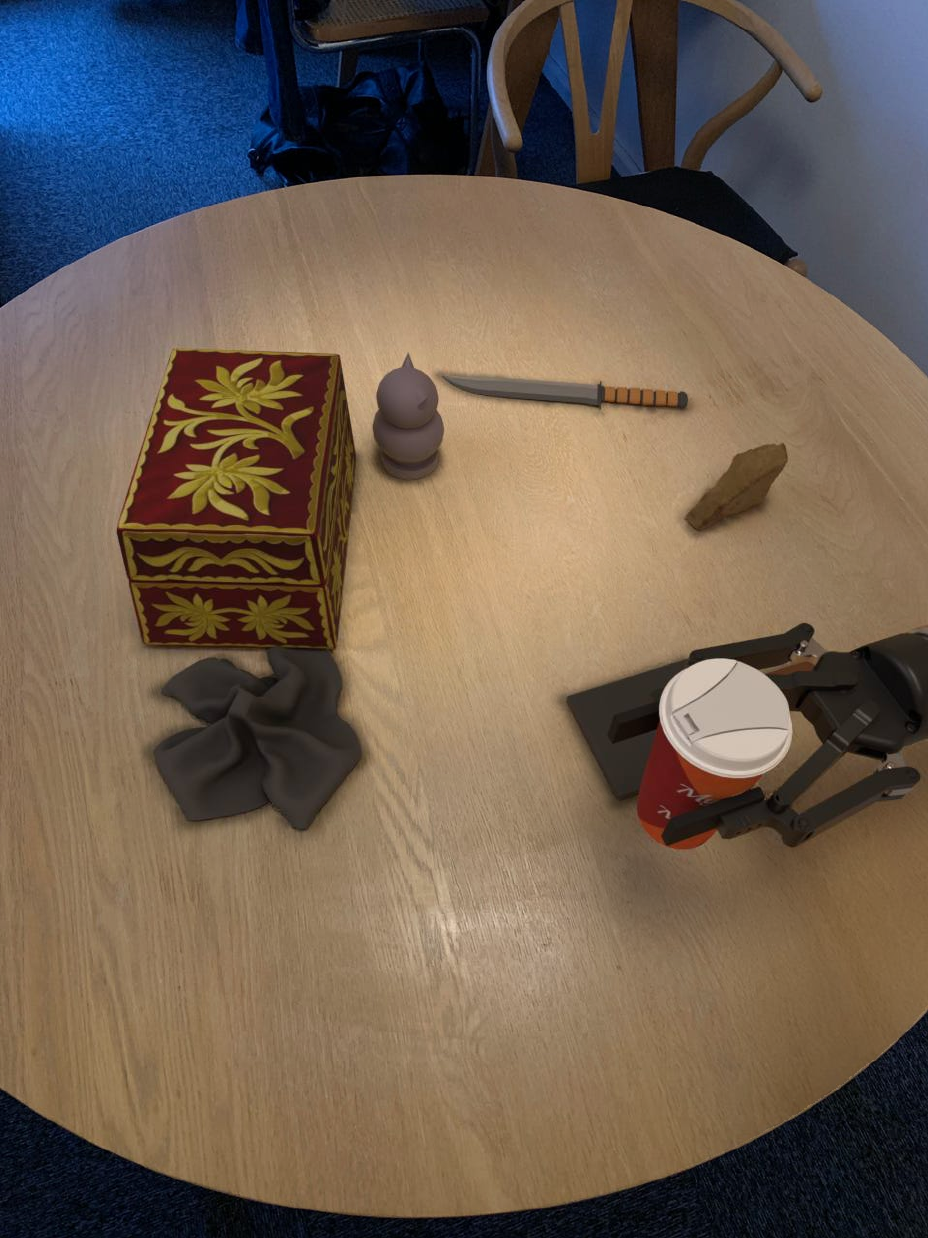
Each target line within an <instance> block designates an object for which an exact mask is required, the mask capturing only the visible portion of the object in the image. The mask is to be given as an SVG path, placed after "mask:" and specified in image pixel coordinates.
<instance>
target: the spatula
mask: <svg viewBox="0 0 928 1238" xmlns="http://www.w3.org/2000/svg"><path fill="white" fill-rule="evenodd" d="M687 660H688V658H686V659H681V660H679V661H676V662H673V663H670V664H666V665H663V666H660V667H657V668H656V667H655V668H653V669H650V670H646V671H644V672H640V673H638V674H637V673H636V674H634V675H631V676H628V677H625V678H621V679H618V680H615V681H612V682H608V683H606V684H602V685H599V686H596V687H593V688H589V689H586V690H583V691H580V692H577V693H574V694H570V695H567V696H566V703H567V705H568V707H569V709H570V711H571V713H572V715H573V716H574V719H575V721H576V722H577V725H578V727H579V728H580V730H581V732H582V734H583V736H584V739H586V742H587V743H588V745H589V747H590V749H591V751H592V753H593V755H594V758H595V759H596V760H597V761H596V762H597V763H598V765H599V767H600V768H601V770H602V772H603V774H604V776H605V778H606V780H607V782H608V784H609V786H610V788H611V790H612V791H613V794H614V795H615V797H616V800H617V801H621V800H624V799H626V798H630V797H632V796H635V795H638V794H639V790H640V786H641V782H642V779H643V775H644V772H645V768H646V765H647V761H648V758H649V755H650V751H651V748H652V744H653V741H654V738H655V734H656V731H657V730H654V731H651V732H648V733H645V734H641V735H638V736H635V737H632V738H629V739H626V740H623V741H620V742H617V743H614V744H612V743H611V741H610V739H609V738H608V736H607V734H608V731H609V728H610V725H611V722H612V719H613V716H614V715H616V714H619V713H622V712H625V711H628V710H631V709H634V708H638V707H641V706H644V705H646V704H647V701H648V699H649V696H650V694H651V693H652V692H653V691H655V690H657V689H660V688H663V687H666V686H667V684H668V683H669V681H670V680H671V679H672V678H673V677H674V676H675V675H677V674H678V673H680V672H681V671H683V670H684V668H685V665H686V663H687ZM813 668H814V665H813V664H812V663H810V662H802V663H798V664H796V665H793V664H791V665H788V666H785V667H782V668H778V669H776V670H773V671H770V672H767V673H766V674H782V675H788V674H791V673H793V672H796V671H812V670H813Z"/></svg>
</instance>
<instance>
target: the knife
mask: <svg viewBox="0 0 928 1238" xmlns="http://www.w3.org/2000/svg"><path fill="white" fill-rule="evenodd" d="M441 376H442V377H443V378H444V379H445V380H446V381H447V382H449V383H450V384H452V386H454V387H456V388H458V389H461V390H462V391H465V392H468V393H472V394H477V395H483V396H489V397H490V396H492V397H498V398H499V397H500V398H511V399H525V400H526V399H527V400H536V401H537V400H538V401H551V402H562V403H563V402H564V403H577V404H587V405H591V406H598V408H599V410H601V409H602V402H611V403H615V402H616V403H618V404H619V403H620V404H627V403H628V404H631V405H640V404H641V405H642V406H653V405H654V406H660V407H661V406H662V407H665V406H667V407H679V408H681V409H685V408H686V407H688V404H689V396H688V393H686V391H684V390H683V391H682V390H681V391H679V392H678V391H672V390H671V391H670V390H667V391H666V390H661V389H655V390H654V389H652V388H651V389H650V388H642V389H641V388H639V387H637V388H636V387H629V388H628V387H624V386H623V387H622V386H617V387H616V386H605V385H603V384H602V380H600V381H599V384H589V383H578V382H567V381H566V382H564V381H552V380H538V379H525V378H513V377H512V378H511V377H474V376H461V375H459V376H458V375H446V374H445V375H444V374H442V375H441Z"/></svg>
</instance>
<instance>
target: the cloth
mask: <svg viewBox="0 0 928 1238" xmlns="http://www.w3.org/2000/svg"><path fill="white" fill-rule="evenodd" d="M265 649H266V654H267V655H266V656H267V661H268V665H269V666H270V668H271V670H272V672H273V676H270V675H267V676H263V677H258V676H256V675H255V674H253V673H251V672H250V671H247V670H244V669H241V668H239V667H237V666H236V665H235V664H234V662H232V661H231V660H229V659H228V658H224V657H223V658H220V659H219V658H217V657H215V656H214V657H213V656H212V657H211V656H210V657H206V658H202V659H199V660H197V661H196V662H194V663H193V664H191V665H189V666H187V667H186V668H184V669H183V670H181V671H179V672H177V673H176V674H174V675H172V677H170V679H168V681H167V682H166V684H164V686H163V687H161V690H160V693H161V694H162V695H163V696H165V697H173V698H175V699H177V700H178V701H179V702H180V703H181V705H183V706H184V708H185V709H186V710H187V711H188V712H189V713H190V714H191V715H192V716H193V717H194V718H196V719H199V720H201V721H204V722H207V723H209V724H210V725H207V726H206V727H205V726H203V727H191V728H187V729H184V730H181V731H178V732H177V733H174V734H172V735H170V736H168V737H166V738H165V739H164V740H162V741H160V742H159V743H158V744H157V746H155V748H154V749H153V755H154V762H155V765H156V767H157V769H158V772H159V774H160V776H161V777H162V779H163V781H164V782H165V784H166V786H167V788H168V790H169V792H170V794H171V796H172V797H173V798H174V800H175V801H176V802H177V803H178V805H179V807H180V809H181V811H182V812H183V813H184V817H185V819H186V820H187V821H205V820H211V819H212V820H213V819H220V818H227V817H231V816H237V815H240V814H245V813H248V812H251V811H254V810H256V809H260V808H262V807H264V806H266V805H267V804H268V803H271V804H272V805H273V806H274V807H276V808H277V809H278V810H279V811H281V812H282V813H283V814H284V815H285V817H286V819H287V820H288V822H289V825H290V827H293V828H294V829H298V830H306V829H308V828H309V826H310V824H311V823H313V820H314V819H315V818H316V816H317V815H318V814H319V812H320V811H321V809H322V808H323V807H324V805H325V804H327V802H328V800H329V799H330V797H331V796H332V795H333V794H334V793H335V791H336V790H337V788H338V787H339V786H340V785H341V783H342V782H343V780H344V779H345V778H346V777H347V776H348V774H349V773H350V772H351V771H352V769H353V768H354V767H355V766H356V765H357V764H358V762H359V761H360V759H361V758H362V753H363V751H362V748H361V744H360V740H359V738H358V735H357V734H356V731H355V730H354V729H353V727H352V726H351V724H350V723H348V721H345V720H344V719H343V718H342V717H341V716H340V715H339V713H338V705H339V699H340V695H341V693H342V689H343V679H342V675H341V671H340V669H339V666H338V664H337V662H336V661H335V659H334V657H333V655H332V653H331V652H330V651H329V649H300V648H282V647H272V648H265Z"/></svg>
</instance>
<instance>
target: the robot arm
mask: <svg viewBox="0 0 928 1238" xmlns="http://www.w3.org/2000/svg"><path fill="white" fill-rule="evenodd" d="M814 635H815V628H814V626H812V625H811V624H810V623H808V622H800V623H799V624H798V625H795V626H794V627H792V628H790V629H789V630H788V631H785V632H784V633H779V634H773V635H768V636H763V637H757V638H753V639H746V640H741V641H736V642H730V643H725V644H719V645H714V646H708V647H704V648H703V647H702V648H697V649H693V650H691V652H690V653H689V656H688V658H687V659H688V660H687V663H686V665H685V668H684V670H685V669H687V668H689V667H690V666H692V665H694V664H696V663H698V662H701V661H705V660H710V659H731V660H736V661H737V662H738V661H739V662H742V663H744V664H746V665H749V666H751V667H753V668H755V669H757V670H759V671H760V670H766V669H770V668H775V667H779V666H782V665H785V664H788V663H789V662H790V664H791V665H796V664H798V663H802V662H810V663H812V664H813V665H814V668H813V670H812V671H796V672H793V673H791V674H788V675H782V674H767V673H764V674H765V675H766V676H767V677H768V678H769V679H770V680H771V681H772V682H773V683H775V684H776V686H777V687H778V688H779V689H780V690H781V692H782V693H783V694H784V696H785V698H786V700H787V702H788V706H789V712H800V713H801V715H802V716H803V717H804V719H806V721H808V722H809V723H810V724H811V725H812V726H813V729H814V732H815V734H816V737H817V738H818V740H819V741H820V743H821V745H820V746H819V747H818V748H817V749H816V750H815V751H814V752H813V753H812V754H811V755H810V756H809V757H808V758H807V759H806V760H805V761H804V762H803V763H802V764H801V765H800V766H799V767H798V768H797V769H796V770H795V771H794V772H793V773H792V774H791V775H790V776H789V777H788V778H787V779H786V780H785V781H784V782H783V783H782V784H781V785H780V786H779V787H778V788H777V789H774V790H773V792H772V793H771V795H770V797H768V798H766V797H767V796H766V794H765V792H764V791H763V789H762V787H761V786H756V787H754V788H753V787H752V789H751V790H748V791H745V792H743V793H741V794H739V795H736V796H732V797H728V798H725V799H723V800H720V801H717V802H714V803H712V804H709V805H706V806H703V807H700V808H698V809H695V810H692V811H689V812H686V813H684V814H681V815H678V816H675V817H672V818H670V819H669V821H668V823H667V825H666V827H665V829H664V831H663V833H662V835H661V837H662V839H663V841H664V843H665V845H666V846H669V845H672V844H675V843H677V842H680V841H683V840H686V839H688V838H691V837H694V836H696V835H699V834H702V833H705V832H707V831H710V830H713V829H717V831H716V832H717V833H718V834H719V836H720V838H721V839H722V840H732V839H734V838H738V837H740V836H742V835H743V836H744V835H746V834H749V833H751V832H753V831H756V830H757V831H758V830H760V829H762V828H769V829H772V830H774V831H775V832H776V833H777V834H778V835H780V836H781V841H782V843H783V844H784V845H785V846H786V847H789V848H792V849H793V848H797V847H799V846H801V845H804V844H805V843H806V842H808V841H810V840H812V839H814V838H815V837H817V836H819V835H821V834H823V833H824V832H826V831H828V830H830V829H831V828H833V827H835V826H836V825H838V824H841V823H842V822H843V821H844V822H845V820H848V819H849V818H851V817H852V816H854V815H856V814H858V813H860V812H861V811H863V810H865V809H867V808H869V807H870V806H872V805H874V804H876V803H881V802H889V801H899V800H902V799H904V798H905V797H906V795H908V793H909V792H910V791H912V790H913V789H914V788H915V786H916V785H917V784H918V783H919V782H920V781H921V773H920V772H919V770H918V769H916V767H913V766H908V765H907V764H906V761H905V759H904V758H903V756H902V753H901V751H902V750H903V749H904V748H905V747H909V746H912V745H914V744H916V743H917V744H918V743H920V742H922V741H925V740H927V739H928V624H924V625H921V626H918V627H915V628H912V629H910V630H907V631H906V632H901V633H898V634H895V635H892V636H888V637H885V638H882V639H879V640H876V641H873V642H869V643H867V644H863V645H861V646H859V647H857V648H854V649H853V650H850V651H836V650H830V651H829V650H828V651H827V650H826V649H825V648H824V647H822V645H821V644H820V643H819V642H817V641H816V639H814V638H813V636H814ZM664 689H665V687H663V688H660V689H657V690H655V691H653V692H652V693H651V694H650V696H649V699H648V701H647V704H646V705H644V706H641V707H638V708H634V709H631V710H628V711H625V712H622V713H619V714H616V715H614V716H613V719H612V722H611V725H610V728H609V731H608V734H607V736H608V738H609V739H610V741H611V743H612V744H614V743H617V742H620V741H623V740H626V739H629V738H632V737H635V736H638V735H641V734H645V733H648V732H651V731H654V730H657V728H658V724H659V721H660V715H659V705H660V700H661V696H662V693H663V691H664ZM847 753H848V754H853V755H856V756H860V757H864V758H868V759H872V760H876V761H880V763H879V765H877V766H876V768H875V769H874V770H873V771H872V774H870V775H868V776H867V777H864V778H862V779H861V780H859V781H857V782H855V783H852V785H850V786H848V787H846V788H844V789H842V790H841V791H838V792H837V793H834V794H833V795H832V796H830V797H828V798H826V799H824V800H822V801H820V802H819V803H817V804H815V805H813V806H812V807H809V808H808V809H806V810H804V811H802V812H800V813H798V812H797V811H796V810H795V809H793V807H794V806H795V805H796V804H797V803H798V802H799V801H800V800H801V799H802V798H803V797H804V796H805V794H807V792H809V791H810V790H811V788H812V787H813V786H814V785H816V783H817V782H818V781H819V780H820V779H821V778H822V777H824V775H826V773H827V772H828V771H829V770H831V769H832V768H833V767H834V766H835V765H836V764H837V763H838V762H839V761H840V760H841V758H843V757H844V756H845V755H846V754H847ZM666 846H665V847H666Z"/></svg>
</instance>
